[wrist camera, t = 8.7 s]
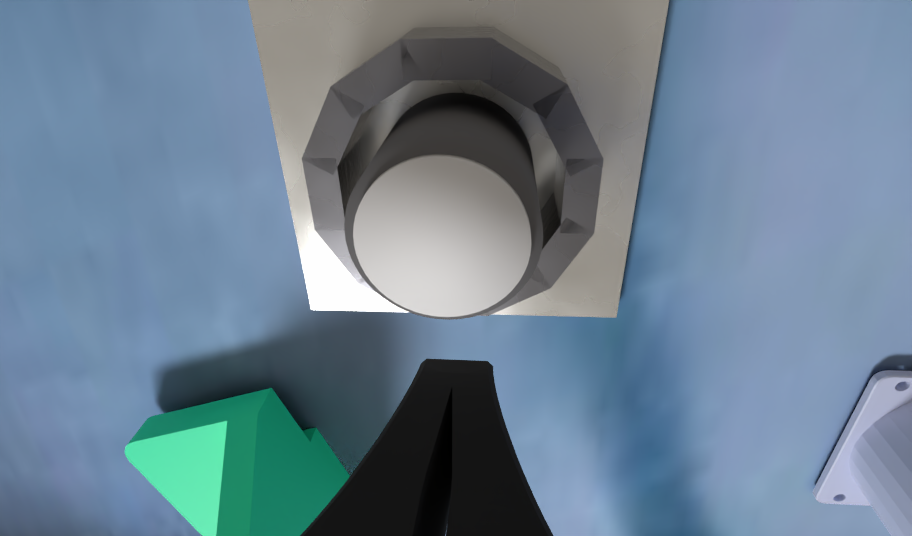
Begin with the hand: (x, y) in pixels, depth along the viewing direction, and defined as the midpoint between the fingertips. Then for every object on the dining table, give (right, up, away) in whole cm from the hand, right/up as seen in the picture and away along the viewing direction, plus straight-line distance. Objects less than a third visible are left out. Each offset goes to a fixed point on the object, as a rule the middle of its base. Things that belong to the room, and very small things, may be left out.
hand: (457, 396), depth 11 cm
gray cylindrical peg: (0, +6, +7) cm, 9 cm away
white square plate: (0, +6, +7) cm, 10 cm away
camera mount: (-10, -8, +17) cm, 21 cm away
